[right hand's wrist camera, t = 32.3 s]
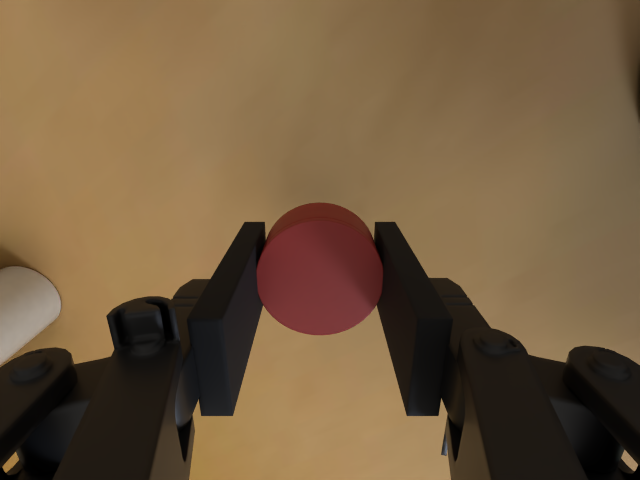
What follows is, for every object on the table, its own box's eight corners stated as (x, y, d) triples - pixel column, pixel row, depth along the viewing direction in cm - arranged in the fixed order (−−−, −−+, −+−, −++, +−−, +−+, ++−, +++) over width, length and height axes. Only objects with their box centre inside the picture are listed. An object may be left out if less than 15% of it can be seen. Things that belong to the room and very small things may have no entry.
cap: (316, 177, 13) (316, 192, 11) (398, 252, 14) (411, 278, 12) (241, 258, 14) (229, 284, 12) (322, 322, 15) (323, 356, 13)
